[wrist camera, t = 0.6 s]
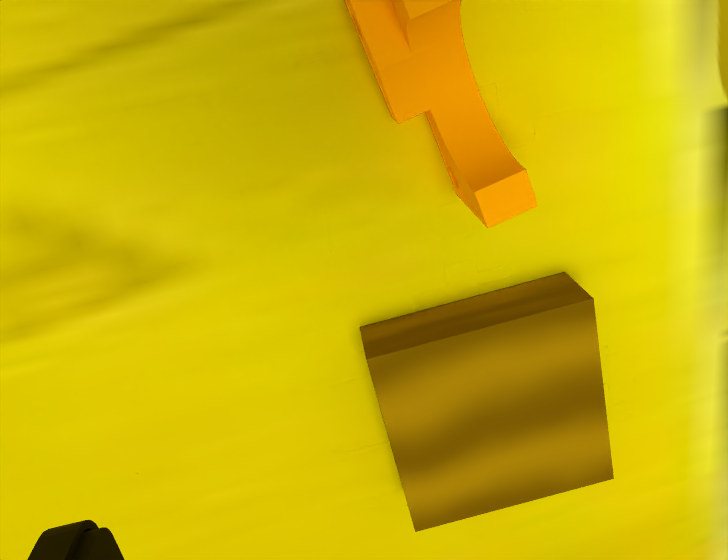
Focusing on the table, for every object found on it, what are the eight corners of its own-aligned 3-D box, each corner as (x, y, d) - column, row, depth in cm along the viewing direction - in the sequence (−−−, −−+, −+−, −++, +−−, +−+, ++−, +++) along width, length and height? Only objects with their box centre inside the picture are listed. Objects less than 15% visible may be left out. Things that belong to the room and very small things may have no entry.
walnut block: (359, 327, 38) (366, 359, 35) (564, 271, 38) (593, 298, 35) (405, 488, 44) (415, 531, 40) (586, 440, 44) (613, 478, 40)
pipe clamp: (342, -3, 32) (353, -9, 26) (421, -41, 31) (451, -56, 25) (428, 206, 36) (454, 243, 30) (498, 175, 36) (537, 205, 30)
